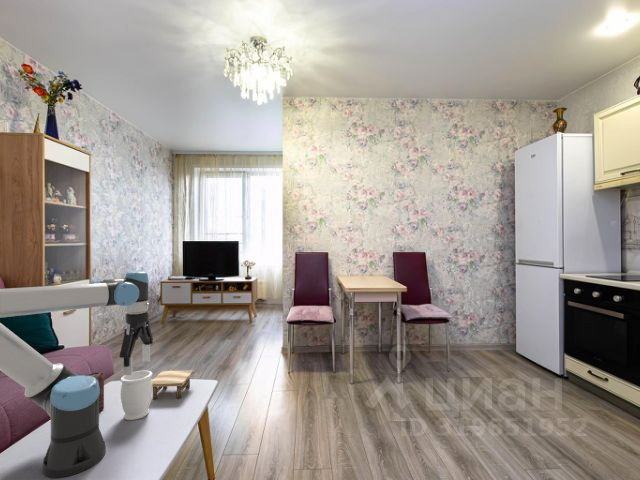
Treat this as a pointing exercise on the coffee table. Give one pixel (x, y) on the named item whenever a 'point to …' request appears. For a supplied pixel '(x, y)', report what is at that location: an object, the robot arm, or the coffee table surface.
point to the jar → (136, 394)
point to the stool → (172, 381)
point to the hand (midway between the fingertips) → (137, 367)
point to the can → (101, 385)
